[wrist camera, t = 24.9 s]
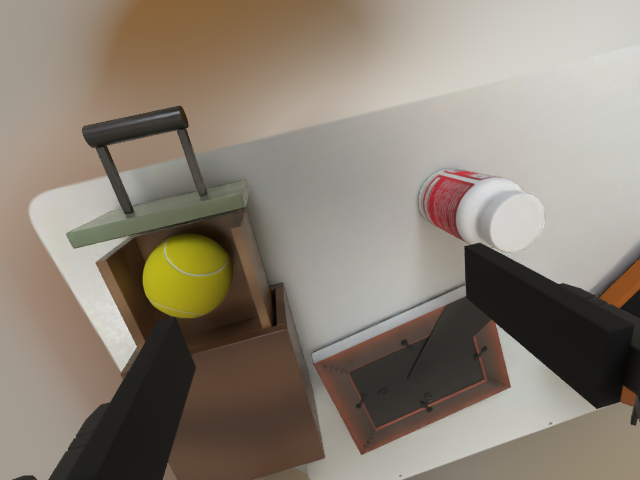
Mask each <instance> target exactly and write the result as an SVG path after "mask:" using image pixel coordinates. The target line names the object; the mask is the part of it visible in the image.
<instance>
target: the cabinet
mask: <svg viewBox="0 0 640 480" xmlns="http://www.w3.org/2000/svg"><path fill="white" fill-rule="evenodd" d="M269 288H270V291H271V295H272V298H273V301H274V305H275V308H276V316H277V326H274V327H270V328H267V329H263V330H259V331H255V332H252V333H248V334H244V335H241V336H237V337H233V338H229V339H226V340H222V341H218V342H215V343H211V344H207V345H204V346H200V347H196V348H192V349H189V351H190V353H191V356H192V358H193V361H194V363H195V366H196V370H195V373H194V377H193V380H192V383H191V387H190V390H189V393H188V397H187V400H186V403H185V407H184V410H183V413H182V417H181V420H180V423H179V426H178V430H177V433H176V436H175V440H174V443H173V446H172V450H171V453H170V456H169V460H168V463H169V465H170V467H171V469H172V471H173V472H174V474H175V476H176V478H177V480H254V479H258V478H261V477H264V476H267V475H271V474H274V473H277V472H281V471H284V470H287V469H290V468H294V467H297V466H300V465H304V464H307V463H310V462H313V461H317V460H320V459H323V458H325V454H324V449H323V443H322V437H321V432H320V426H319V420H318V414H317V409H316V403H315V397H314V392H313V388H312V384H311V381H310V377H309V374H308V370H307V367H306V363H305V359H304V356H303V352H302V349H301V345H300V342H299V338H298V335H297V331H296V327H295V324H294V320H293V317H292V313H291V310H290V306H289V302H288V299H287V295H286V292H285V288H284V285H283V283H280V284H276V285H272V286H269ZM139 352H140V351H139V349H138V347H137V348H136V350H135V351H134V353H133V355H132V356H131V358H130V359H129V361H128V363H127V364H126V367H124V369H123V371H122V372H121V376H122V378H123V380H124V378H125V376H126V374H127V373H128V371H129V369H130V368H131V366H132V364H133V362H134V361H135V359H136V357H137V355H138V354H139Z"/></svg>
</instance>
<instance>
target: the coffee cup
mask: <svg viewBox="0 0 640 480" xmlns="http://www.w3.org/2000/svg"><path fill="white" fill-rule="evenodd" d="M254 480H310V479H309V477H308V473H307V467H306V464H304V465H300V466H297V467H294V468H290V469H287V470H284V471H281V472H277V473H274V474H271V475H267V476H264V477H261V478H258V479H254Z"/></svg>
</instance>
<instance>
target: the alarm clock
mask: <svg viewBox="0 0 640 480" xmlns="http://www.w3.org/2000/svg"><path fill="white" fill-rule="evenodd" d="M599 298H600V299H602V300H604V301H606V302H607V303H608V304H612V305H614V306H616V307H618V308H620V309H622V310H624V311H626V312H628V313H630V314H632V315H634V316H636V317H638V318H640V258H639V259H638V260H637V261H636V262H635V263H634V264H633V265H632V266H631V267H630V268H629V269H628V270H627V271H626V272H625V273H624V274H623V275H622V276H621V277H620V278H619V279H618V280H617V281H616V282H614V283H613V284H612V285H611V286H610V287H609V288H608V289H607V290H606V291H605V292H604V293H603V294H602V295H601V296H600V297H599ZM635 396H636V394H634V393H633V392H632V391H630V390H629V389H627V388H626V387H625V386H623V390H622V395H621V400H620V402H622V403H624V404H627V405H630V406H634V401H635Z"/></svg>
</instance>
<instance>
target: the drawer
mask: <svg viewBox="0 0 640 480" xmlns="http://www.w3.org/2000/svg"><path fill="white" fill-rule="evenodd" d="M185 128H188V121H187V117H186V114H185V112H184V110H183V108H182V107H181V106H176V107H172V108H167V109H162V110H157V111H153V112H148V113H143V114H139V115H134V116H129V117H125V118H120V119H115V120H110V121H106V122H101V123H96V124H92V125H87V126H84V127H83V128H82V133H83V136H84V138H85V140H86V142H87V143H88V144H89V145H90V146H91V147H92V148H96V150H97V152H98V154H99V157H100V159H101V162H102V164H103V166H104V168H105V171H106V173H107V175H108V178H109V180H110V182H111V184H112V187H113V189H114V191H115V194H116V196H117V198H118V200H119V203H120V205H121V207H122V209H118V210H114V211H110V212H108V213H106V214H104V215H102V216H100V217H98V218H96V219H94V220H92V221H90V222H88V223H86V224H84V225H82V226H80V227H78V228H76V229H74V230H72V231H70V232H68V233H67V234H66V235H67V237H68V239H69V241H70V243H71V245H72V247H73V248H79V247H83V246H87V245H91V244H96V243H100V242H104V241H108V240H112V239H116V238H121V237H125V236H129V235H133V234H137V233H141V232H146V231H150V230H154V229H158V228H162V227H167V226H171V225H175V224H179V223H183V222H187V221H192V220H196V219H200V218H204V217H208V216H212V215H217V214H221V213H225V212H229V211H233V210H237V209H242V208H245V206H246V202H247V199H248V196H249V193H250V190H249V186H248V183H247V180H243V181H238V182H234V183H230V184H225V185H221V186H217V187H213V188H208V189H206V187H205V184H204V181H203V178H202V175H201V172H200V169H199V166H198V163H197V160H196V157H195V154H194V151H193V148H192V145H191V142H190V139H189V136H188V133H187V130H186V129H185ZM176 130H177V133H178V135H179V138H180V141H181V144H182V147H183V150H184V153H185V156H186V159H187V162H188V164H189V167H190V170H191V173H192V176H193V179H194V182H195V185H196V188H197V190H198V191H195V192H191V193H187V194H183V195H178V196H174V197H170V198H165V199H161V200H157V201H153V202H148V203H144V204H140V205H135V206H132V204H131V202H130V200H129V197H128V195H127V192H126V190H125V188H124V185H123V183H122V181H121V178H120V176H119V174H118V171H117V169H116V167H115V164H114V162H113V160H112V157H111V155H110V152H109V150H108V148H107V145H112V144H117V143H121V142H125V141H130V140H135V139H139V138H144V137H148V136H153V135H158V134H162V133H167V132H171V131H176ZM179 234H198V235H202V236H205V237H208V238H210V239H212V240H214V241H216V242H217V243H218V244H220V245H221V246H222V247H223V248H224V249H225V250H226V252H227V253H228V255H229V256H230V259H231V262H232V268H233V277H232V283H231V286H230V289H229V291H228V293H227V295H226V297H225V298H224V300H223V301H222V302H221V303H220V304H219V305H218V306H217V307H216V308H215V309H214V310H212V311H211V312H209V313H207V314H205V315H203V316H200V317H195V318H180V317H176V319H177V322H178V324H179V327H180V329H181V331H182V334H183V336H184V339H185V341H186V344H187V346H188V349H192V348H196V347H200V346H204V345H207V344H211V343H215V342H218V341H222V340H226V339H229V338H233V337H237V336H241V335H244V334H248V333H252V332H255V331H259V330H263V329H267V328H270V327H274V326H277V316H276V308H275V305H274V301H273V298H272V295H271V291H270V288H269V285H268V281H267V278H266V275H265V271H264V268H263V265H262V261H261V258H260V255H259V251H258V248H257V245H256V241H255V238H254V234H253V231H252V228H251V224H250V221H249V218H248V214H247V211H246V209H243V210H239V211H234V212H230V213H226V214H222V215H218V216H214V217H209V218H205V219H201V220H197V221H193V222H189V223H184V224H180V225H176V226H172V227H168V228H164V229H159V230H155V231H151V232H147V233H143V234H139V235H134V236H130V237H128V238H127V239H126V240H125V241H123V242H122V243H121V244H119V245H118V246H117V247H115V248H114V249H113V250H111V251H110V252H109V253H107V254H106V255H105V256H103V257H102V258H101V259H99V260H98V261H97V262H96V265H97V267H98V269H99V271H100V273H101V275H102V277H103V279H104V281H105V283H106V285H107V287H108V289H109V291H110V293H111V295H112V297H113V299H114V301H115V303H116V305H117V307H118V309H119V311H120V313H121V315H122V317H123V319H124V321H125V323H126V325H127V327H128V329H129V331H130V333H131V335H132V337H133V339H134V341H135V343H136V345H137V347H138V349H139V351H140V350H141V348H142V347H143V345H144V343H145V342H146V340H147V338H148V336H149V335H150V333H151V331H152V329H153V328H154V326H155V324H156V322H157V321H160V320H164V319H168V318H172V317H174V316H171V315H168V314H166V313H164V312H162V311H160V310H158V309H157V308H156V307H154V306H153V305H152V304H151V302H150V301H149V299H148V298H147V296H146V294H145V291H144V287H143V271H144V267H145V264H146V261H147V259H148V257H149V256H150V254H151V253H152V251H153V250H154V249H155V248H156V247H157V246H158V245H159V244H160V243H161V242H162V241H164V240H165V239H167V238H169V237H171V236H174V235H179Z"/></svg>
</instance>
